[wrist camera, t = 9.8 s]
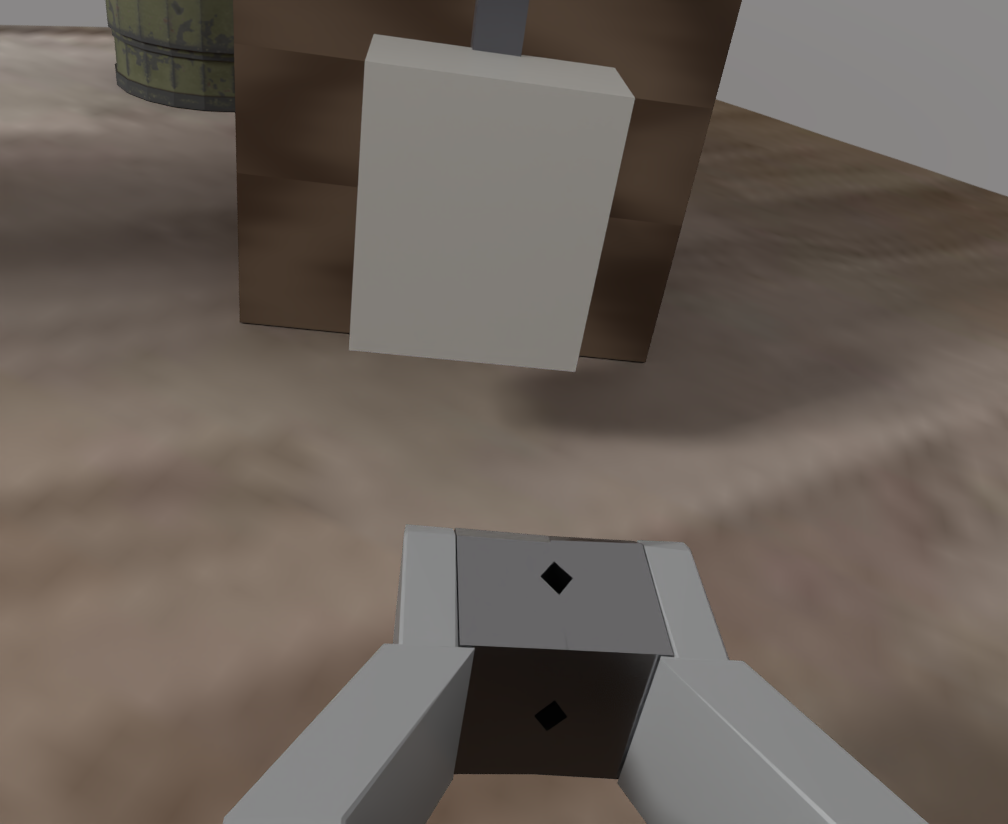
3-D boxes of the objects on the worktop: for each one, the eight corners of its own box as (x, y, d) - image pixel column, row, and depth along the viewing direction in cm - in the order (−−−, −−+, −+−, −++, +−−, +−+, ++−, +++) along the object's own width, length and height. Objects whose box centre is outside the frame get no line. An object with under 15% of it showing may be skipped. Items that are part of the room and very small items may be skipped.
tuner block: (240, 322, 26) (228, -188, 19) (297, 180, 36) (304, -187, 29) (645, 362, 27) (767, -98, 20) (591, 215, 37) (662, -127, 30)
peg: (348, 349, 19) (381, -252, 14) (388, 132, 33) (413, -218, 27) (575, 372, 20) (698, -194, 14) (523, 149, 33) (576, -190, 27)
